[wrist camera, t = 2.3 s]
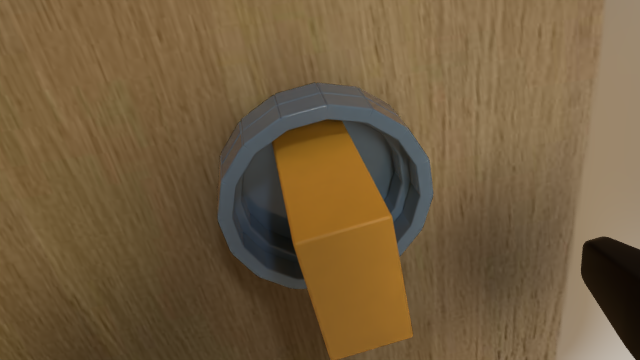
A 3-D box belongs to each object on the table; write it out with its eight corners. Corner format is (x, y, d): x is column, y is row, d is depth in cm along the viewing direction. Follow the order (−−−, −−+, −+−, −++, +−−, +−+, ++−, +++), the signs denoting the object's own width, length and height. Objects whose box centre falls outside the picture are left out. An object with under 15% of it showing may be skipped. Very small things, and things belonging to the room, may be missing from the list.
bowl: (395, 54, 14) (420, 78, 12) (418, 219, 17) (441, 257, 15) (189, 111, 14) (185, 143, 12) (251, 268, 17) (255, 311, 15)
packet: (339, 114, 14) (392, 215, 10) (361, 216, 16) (414, 338, 12) (269, 134, 14) (292, 244, 10) (300, 233, 16) (331, 363, 12)
